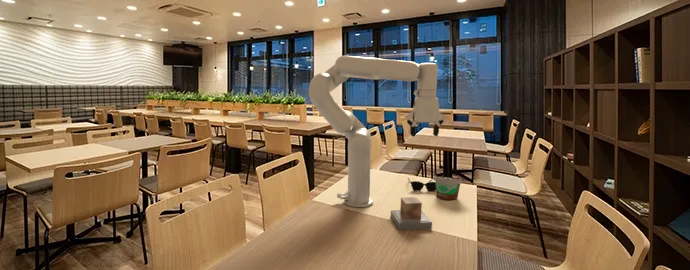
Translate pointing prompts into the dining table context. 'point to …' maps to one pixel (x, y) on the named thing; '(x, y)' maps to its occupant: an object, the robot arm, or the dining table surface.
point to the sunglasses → (419, 185)
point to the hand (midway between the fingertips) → (424, 135)
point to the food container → (447, 188)
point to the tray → (410, 221)
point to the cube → (411, 208)
